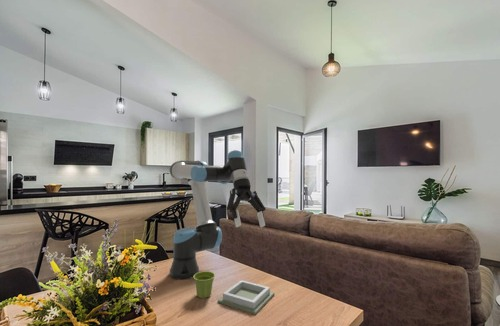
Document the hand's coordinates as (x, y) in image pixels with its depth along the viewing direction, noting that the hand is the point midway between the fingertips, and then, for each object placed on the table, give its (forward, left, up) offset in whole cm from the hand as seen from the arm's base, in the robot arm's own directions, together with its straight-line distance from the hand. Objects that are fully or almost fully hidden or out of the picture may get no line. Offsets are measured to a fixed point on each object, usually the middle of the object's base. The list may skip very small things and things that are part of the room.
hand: (251, 226), depth 107 cm
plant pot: (-22, -4, -33) cm, 39 cm away
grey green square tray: (-4, +3, -32) cm, 33 cm away
